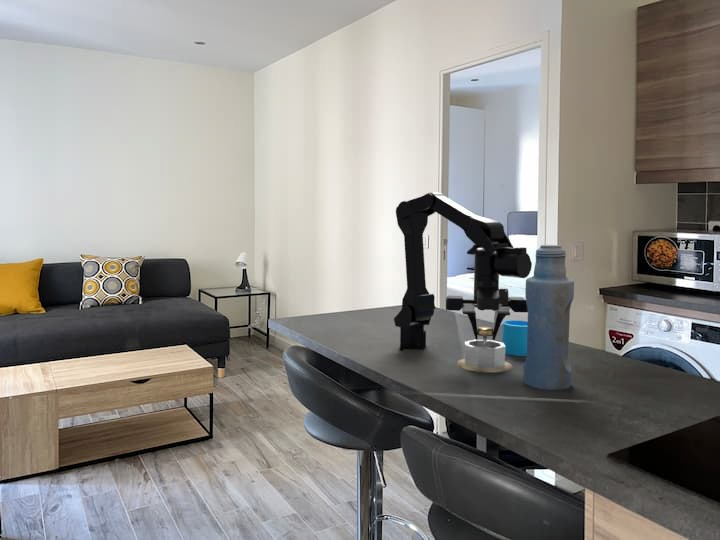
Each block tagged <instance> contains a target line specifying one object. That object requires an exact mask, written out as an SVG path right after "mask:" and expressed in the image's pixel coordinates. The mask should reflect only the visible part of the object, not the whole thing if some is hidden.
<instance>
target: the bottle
mask: <svg viewBox="0 0 720 540" xmlns="http://www.w3.org/2000/svg"><path fill="white" fill-rule="evenodd" d="M566 257H567V254H566V250H565V249H564V248H562V245H559V244H558V245H556V244H541V245H540V247H539V248H537V249H536V251H535V263H534V269H533V276H531V277H530V276H529V277H526V278H525V297H524V299H525V300H526V302H527V308H528V312H527V321H528V325H527V356H525V357H526V358H525V362H524V364H523V369H522V370H523V372H522V373H523V377H522V378H523V379H522V381H523V383H524V385H526V386H528V387H530V388H531V387H532V388H535V389H540V390H545V391H563V390H564V391H565V390H568V389H569V388H571V386H572V366H571V363H570V358H569V347H570V346H569V345H570V340H569V339H570V321H571V320H570V315H571V305H572V303H573V301H574V297H575V294H574V293H575V280H574V279H572V278H569V277H567V270H566V269H567V268H566Z"/></svg>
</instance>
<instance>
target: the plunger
mask: <svg viewBox="0 0 720 540" xmlns="http://www.w3.org/2000/svg"><path fill="white" fill-rule="evenodd" d="M477 333H478V337H479V336H481V337H482V339H483V348H486V344H487V340H488V338H487V337H492V336H493V327H490V326H479V327H478V326H477Z"/></svg>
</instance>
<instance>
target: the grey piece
mask: <svg viewBox="0 0 720 540" xmlns="http://www.w3.org/2000/svg"><path fill="white" fill-rule="evenodd" d="M463 359H464V363H465V366H467V367H471V368H474V369H478V370H497V369H501V368H505V362H506V354H505V345H504V343H502V341H496V340H493V339H487V344H486V348H483V338H479V339H477V340H476V339H472V340H467V341H466V340H465V341H464V357H463Z"/></svg>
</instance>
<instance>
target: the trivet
mask: <svg viewBox="0 0 720 540" xmlns="http://www.w3.org/2000/svg"><path fill="white" fill-rule="evenodd" d="M456 365H457V366H458V367H459V368H462V369H463V370H467V371H472V372H478V373H503V372H507V371H510V370H511V369H513V365H512V364H511V363H509V362H508V361H505V368H501V369H497V370H478V369H474V368H471V367H467V366H465V363H464V358H462V359H459V360H458V361H456Z"/></svg>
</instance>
